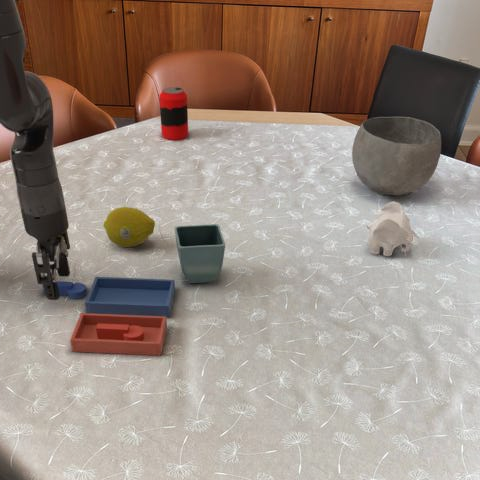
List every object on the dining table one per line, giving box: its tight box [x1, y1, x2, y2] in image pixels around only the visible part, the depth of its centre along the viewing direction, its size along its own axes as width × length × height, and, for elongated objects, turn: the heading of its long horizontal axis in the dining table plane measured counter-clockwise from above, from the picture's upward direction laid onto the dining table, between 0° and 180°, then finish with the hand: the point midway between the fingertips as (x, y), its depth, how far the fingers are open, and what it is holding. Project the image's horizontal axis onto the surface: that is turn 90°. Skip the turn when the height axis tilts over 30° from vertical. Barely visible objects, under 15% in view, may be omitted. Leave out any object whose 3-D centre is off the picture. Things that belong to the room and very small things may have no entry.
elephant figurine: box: [363, 201, 421, 257], centre depth 136 cm, size 10×12×9 cm
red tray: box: [69, 312, 168, 356], centre depth 113 cm, size 15×8×2 cm, turn 88°
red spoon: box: [96, 323, 144, 341], centre depth 113 cm, size 8×4×2 cm, turn 87°
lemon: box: [103, 206, 156, 248], centre depth 136 cm, size 11×8×8 cm
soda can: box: [158, 86, 189, 141], centre depth 181 cm, size 8×8×12 cm
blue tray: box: [84, 276, 176, 318], centre depth 121 cm, size 15×9×2 cm, turn 88°
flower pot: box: [173, 223, 226, 284], centre depth 126 cm, size 9×9×9 cm
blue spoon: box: [41, 280, 88, 300], centre depth 123 cm, size 8×4×2 cm, turn 88°
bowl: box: [351, 116, 442, 196], centre depth 156 cm, size 20×20×15 cm
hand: (59, 286), depth 123 cm, fingers open, 8 cm apart
